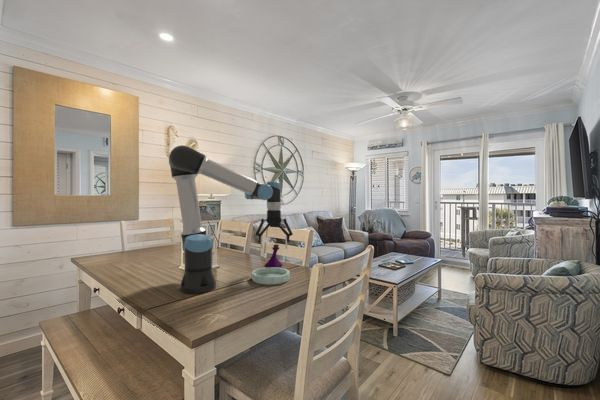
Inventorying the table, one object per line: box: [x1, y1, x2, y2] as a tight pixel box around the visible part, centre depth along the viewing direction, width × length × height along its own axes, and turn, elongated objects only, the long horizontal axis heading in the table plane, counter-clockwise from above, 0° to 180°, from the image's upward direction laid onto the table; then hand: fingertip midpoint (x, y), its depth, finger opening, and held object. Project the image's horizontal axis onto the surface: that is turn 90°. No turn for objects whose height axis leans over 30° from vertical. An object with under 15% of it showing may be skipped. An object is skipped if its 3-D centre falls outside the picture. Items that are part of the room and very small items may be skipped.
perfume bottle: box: [263, 238, 284, 268], centre depth 160 cm, size 8×8×18 cm
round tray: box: [251, 267, 291, 286], centre depth 145 cm, size 18×18×4 cm
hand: (274, 248), depth 159 cm, fingers open, 13 cm apart
